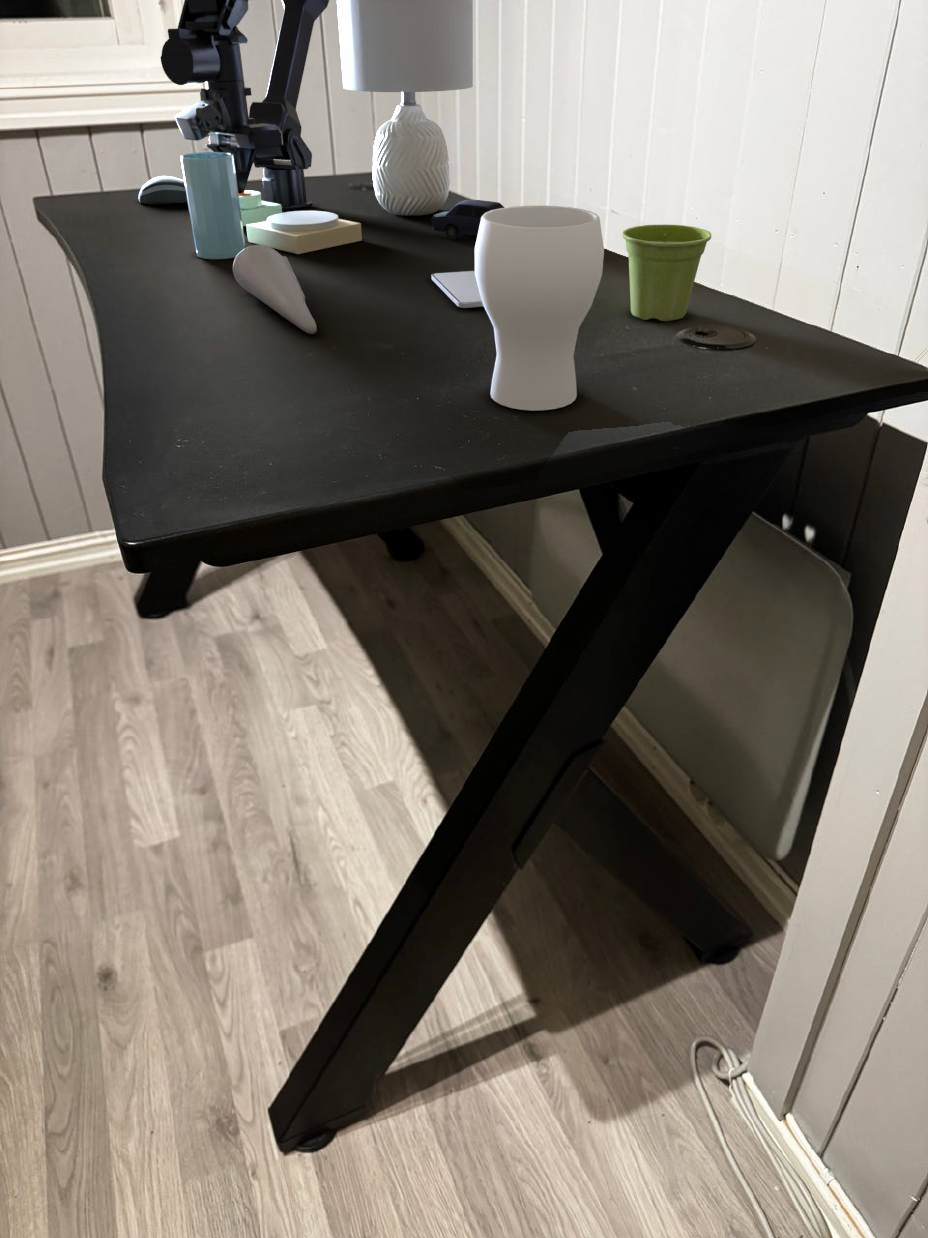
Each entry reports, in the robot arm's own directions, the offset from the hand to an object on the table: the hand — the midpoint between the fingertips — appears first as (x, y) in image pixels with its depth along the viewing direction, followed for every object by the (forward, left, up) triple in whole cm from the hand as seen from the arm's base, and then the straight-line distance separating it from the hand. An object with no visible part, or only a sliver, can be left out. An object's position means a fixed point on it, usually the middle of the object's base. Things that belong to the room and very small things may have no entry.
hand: (239, 192), depth 145 cm
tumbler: (+16, +18, -4) cm, 24 cm away
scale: (+3, +20, -4) cm, 21 cm away
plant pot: (0, +80, -4) cm, 80 cm away
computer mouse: (-2, -24, -4) cm, 24 cm away
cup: (+29, +86, -4) cm, 91 cm away
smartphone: (+7, +58, -4) cm, 59 cm away
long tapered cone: (+29, +48, -4) cm, 56 cm away
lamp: (-23, +16, -4) cm, 28 cm away
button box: (0, 0, -4) cm, 4 cm away
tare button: (0, 0, -2) cm, 2 cm away
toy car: (-16, +38, -4) cm, 41 cm away
